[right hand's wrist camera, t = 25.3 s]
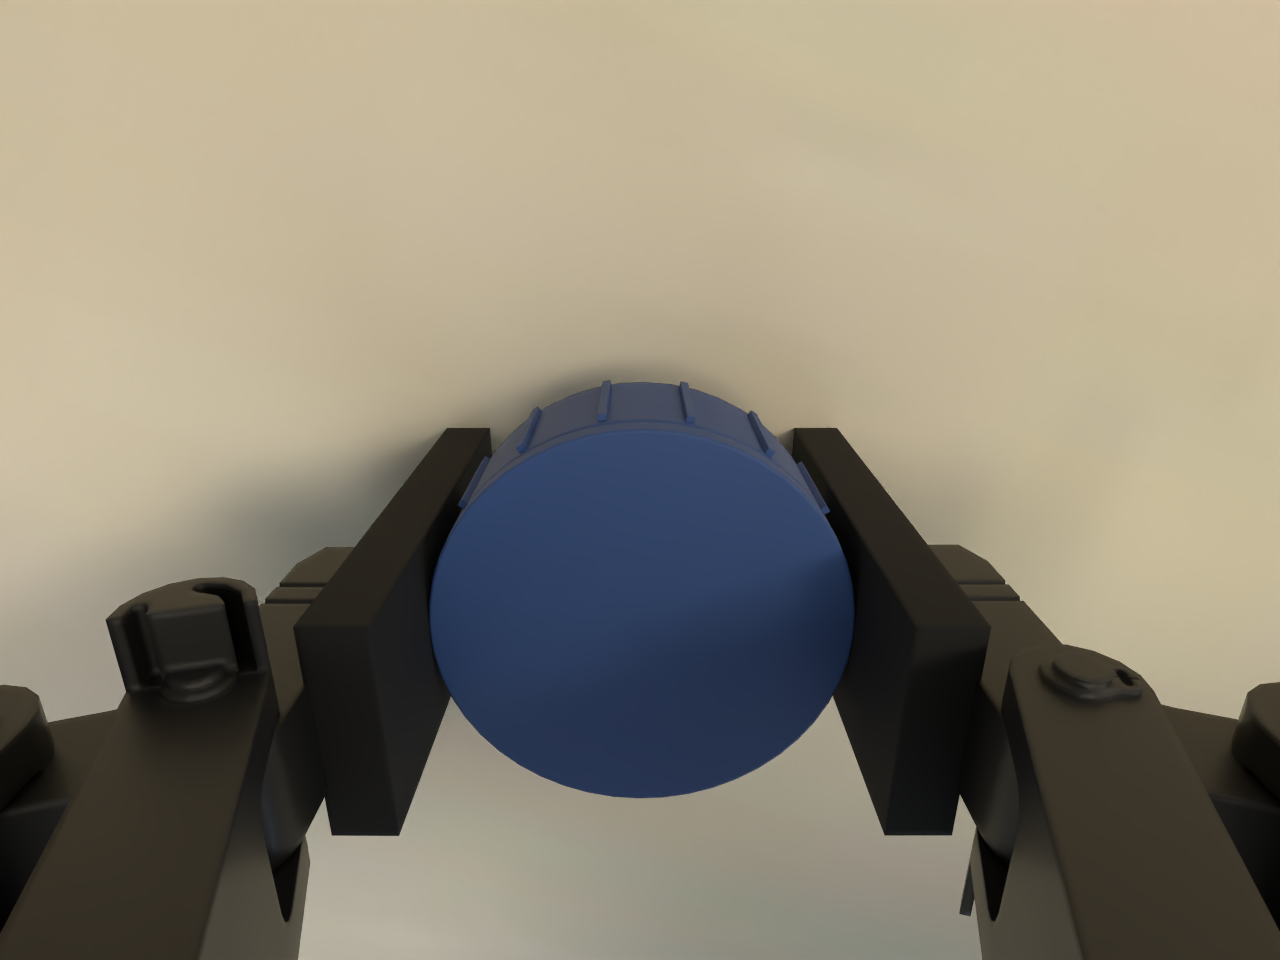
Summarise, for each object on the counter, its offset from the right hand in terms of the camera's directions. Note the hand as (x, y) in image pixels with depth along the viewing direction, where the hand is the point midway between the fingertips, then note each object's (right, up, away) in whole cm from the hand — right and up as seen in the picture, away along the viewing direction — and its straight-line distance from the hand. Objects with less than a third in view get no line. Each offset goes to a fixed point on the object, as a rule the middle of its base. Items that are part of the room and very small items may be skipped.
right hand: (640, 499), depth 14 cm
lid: (0, -1, -4) cm, 4 cm away
